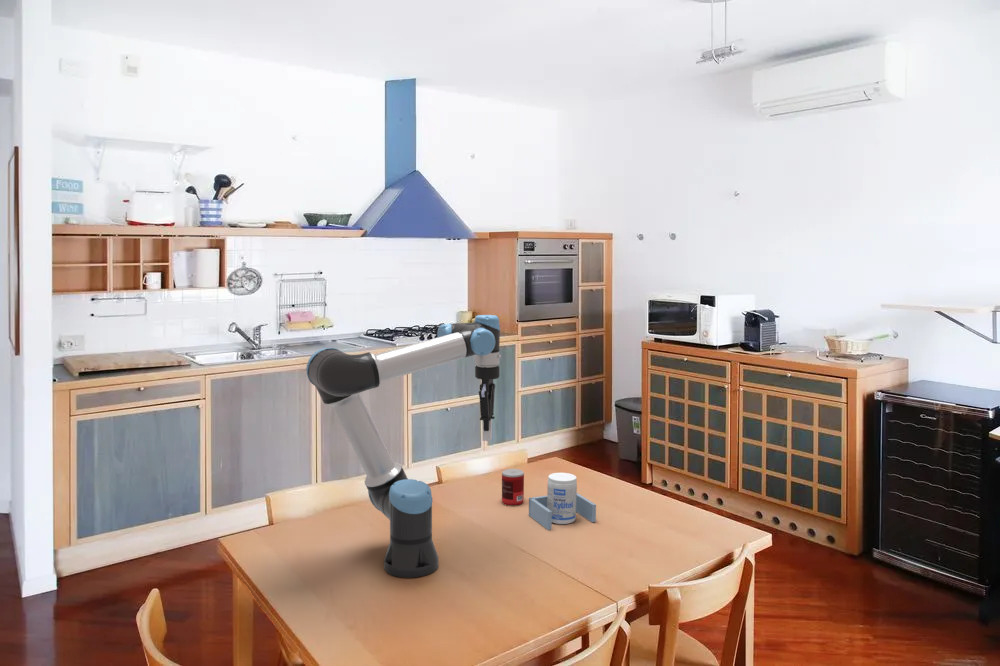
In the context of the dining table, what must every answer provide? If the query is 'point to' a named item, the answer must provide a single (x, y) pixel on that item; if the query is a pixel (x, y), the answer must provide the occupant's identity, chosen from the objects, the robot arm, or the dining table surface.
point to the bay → (544, 515)
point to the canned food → (512, 487)
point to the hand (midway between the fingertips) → (487, 440)
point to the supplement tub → (562, 497)
